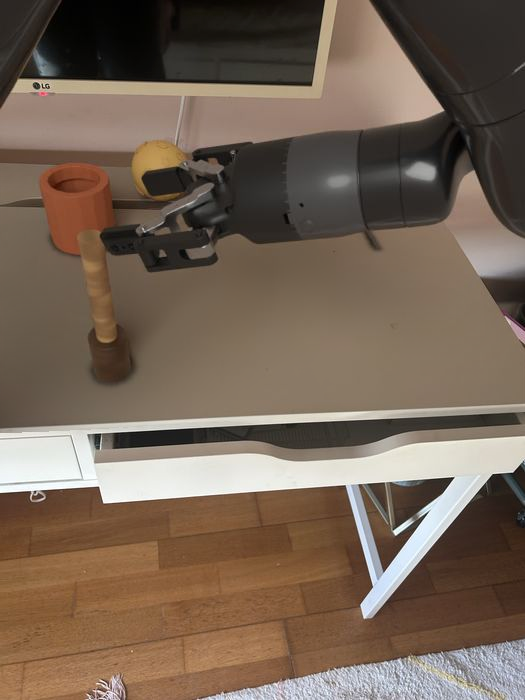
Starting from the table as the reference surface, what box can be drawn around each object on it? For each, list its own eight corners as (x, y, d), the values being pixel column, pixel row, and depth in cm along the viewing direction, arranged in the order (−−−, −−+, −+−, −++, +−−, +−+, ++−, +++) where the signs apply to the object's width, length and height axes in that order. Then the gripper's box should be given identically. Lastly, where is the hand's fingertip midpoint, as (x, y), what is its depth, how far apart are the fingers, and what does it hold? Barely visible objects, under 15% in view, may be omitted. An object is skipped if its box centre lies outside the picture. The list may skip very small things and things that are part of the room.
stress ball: (132, 182, 97) (127, 128, 89) (187, 181, 99) (186, 128, 91) (135, 213, 90) (129, 157, 83) (193, 211, 92) (193, 156, 85)
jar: (64, 261, 80) (50, 203, 73) (44, 227, 85) (30, 169, 78) (125, 245, 84) (118, 188, 77) (103, 214, 89) (95, 157, 82)
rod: (374, 247, 89) (375, 244, 89) (338, 187, 102) (339, 184, 101) (378, 247, 90) (379, 244, 89) (342, 187, 102) (342, 184, 101)
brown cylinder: (102, 387, 65) (75, 254, 50) (89, 363, 67) (60, 229, 52) (136, 374, 66) (119, 242, 52) (123, 351, 69) (103, 219, 54)
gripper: (313, 96, 42) (139, 130, 48) (270, 199, 33) (63, 224, 39) (332, 181, 47) (173, 202, 53) (299, 290, 38) (112, 300, 44)
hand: (127, 211), depth 46 cm, fingers open, 8 cm apart
